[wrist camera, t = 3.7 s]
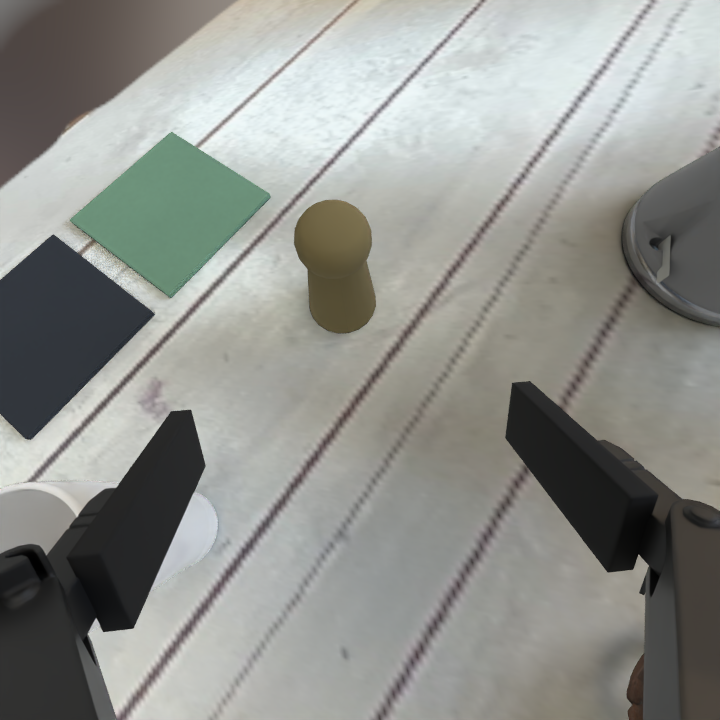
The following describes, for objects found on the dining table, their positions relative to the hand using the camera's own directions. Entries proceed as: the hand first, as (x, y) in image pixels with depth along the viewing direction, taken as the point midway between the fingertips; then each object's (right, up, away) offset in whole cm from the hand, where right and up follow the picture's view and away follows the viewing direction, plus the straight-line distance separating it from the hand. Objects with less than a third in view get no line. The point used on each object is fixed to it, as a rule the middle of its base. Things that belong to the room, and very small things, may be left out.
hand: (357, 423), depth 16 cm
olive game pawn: (-2, +8, +19) cm, 20 cm away
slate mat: (-28, +5, +18) cm, 34 cm away
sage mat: (-19, +18, +22) cm, 34 cm away
